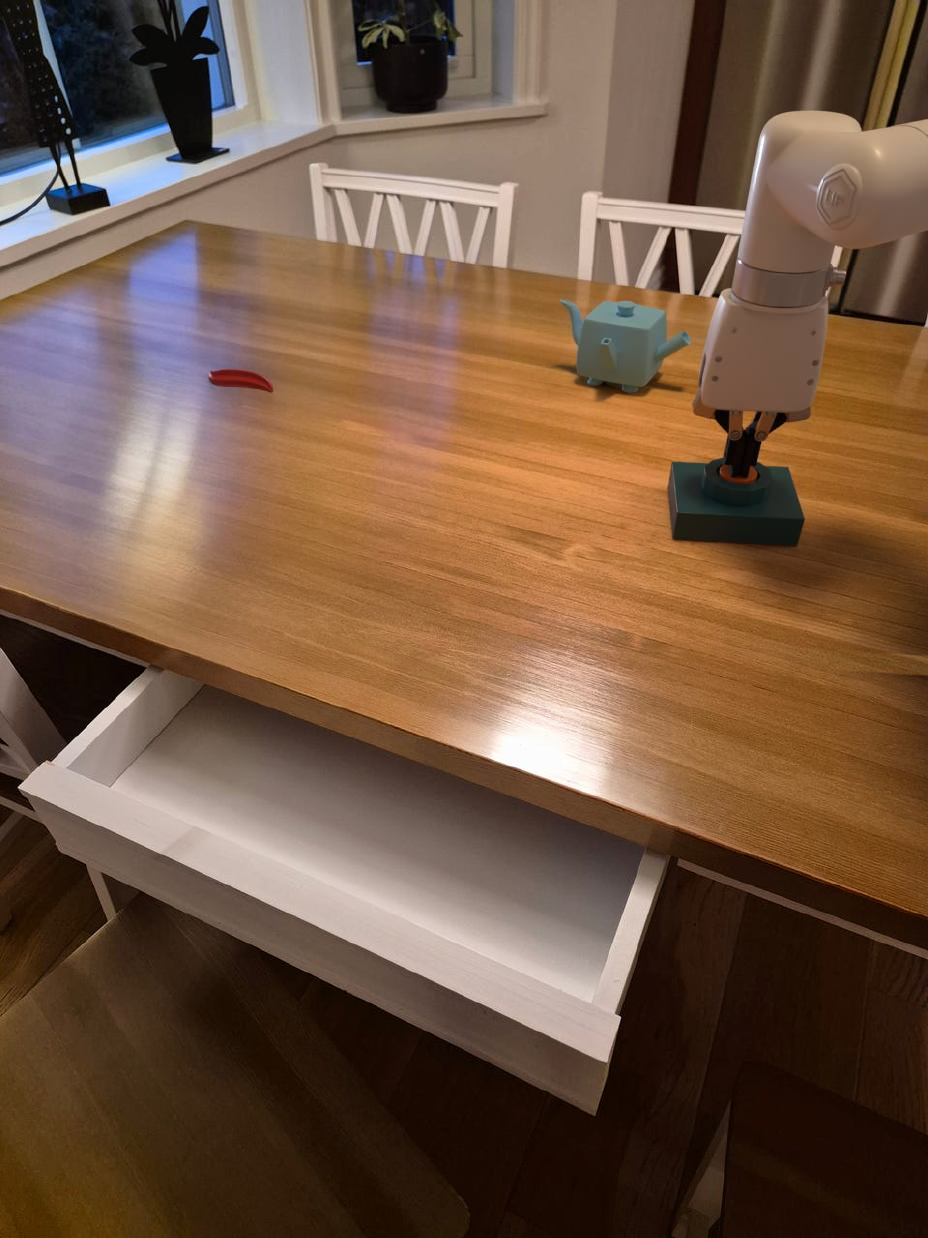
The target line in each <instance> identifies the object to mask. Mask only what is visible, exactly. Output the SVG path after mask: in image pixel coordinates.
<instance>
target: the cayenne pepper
mask: <svg viewBox="0 0 928 1238" xmlns="http://www.w3.org/2000/svg"><path fill="white" fill-rule="evenodd" d="M208 380H209V382H211V384H213V385H215V386H218V387H242V388H251V389H258V390H264V391H267V392H270V393H273V392H274V386H273V384H272V382H271V381H270V380H268V379H267V378H265V376H262V375H261V374H259V373H258V372H257V373H256V372H254V371H249V370H245V369H237V368H236V369H235V368H224V369H217V370H212V369H210V372H208Z"/></svg>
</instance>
